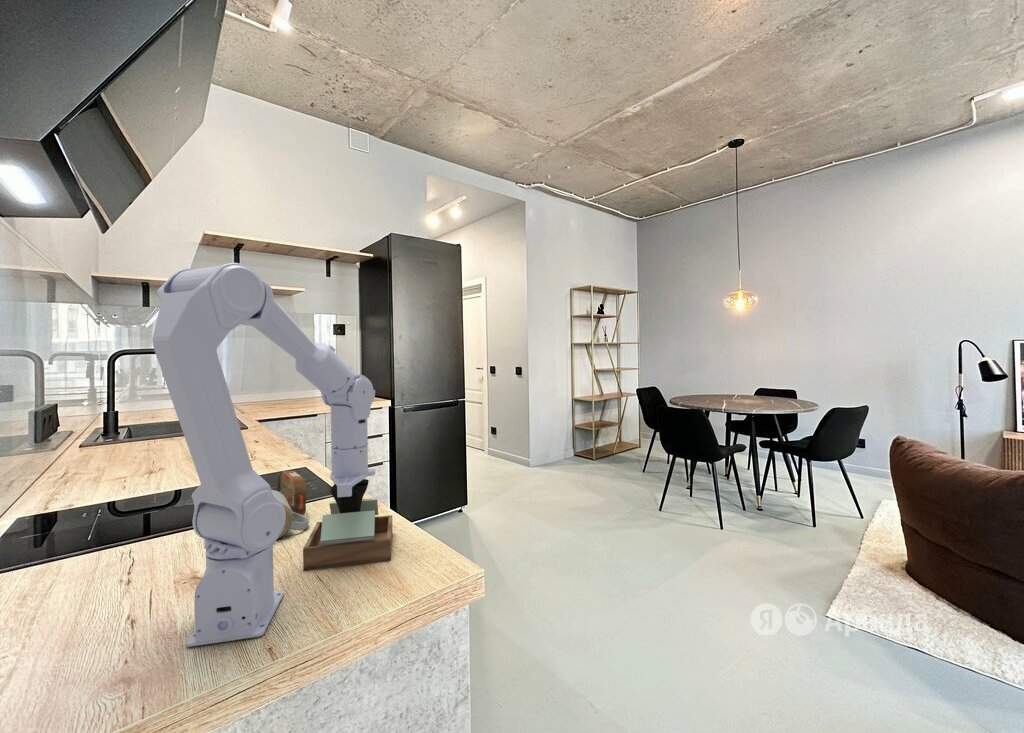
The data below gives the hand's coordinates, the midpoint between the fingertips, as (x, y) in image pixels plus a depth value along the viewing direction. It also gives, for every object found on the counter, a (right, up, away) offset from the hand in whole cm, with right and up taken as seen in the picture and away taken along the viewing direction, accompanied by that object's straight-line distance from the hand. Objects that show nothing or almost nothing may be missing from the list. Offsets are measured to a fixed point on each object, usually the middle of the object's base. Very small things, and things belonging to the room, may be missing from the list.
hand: (350, 526), depth 72 cm
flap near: (+1, +1, -3) cm, 3 cm away
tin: (-20, -5, +19) cm, 28 cm away
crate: (0, -5, +1) cm, 5 cm away
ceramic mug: (-17, -5, +9) cm, 20 cm away
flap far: (-1, +1, +5) cm, 5 cm away
